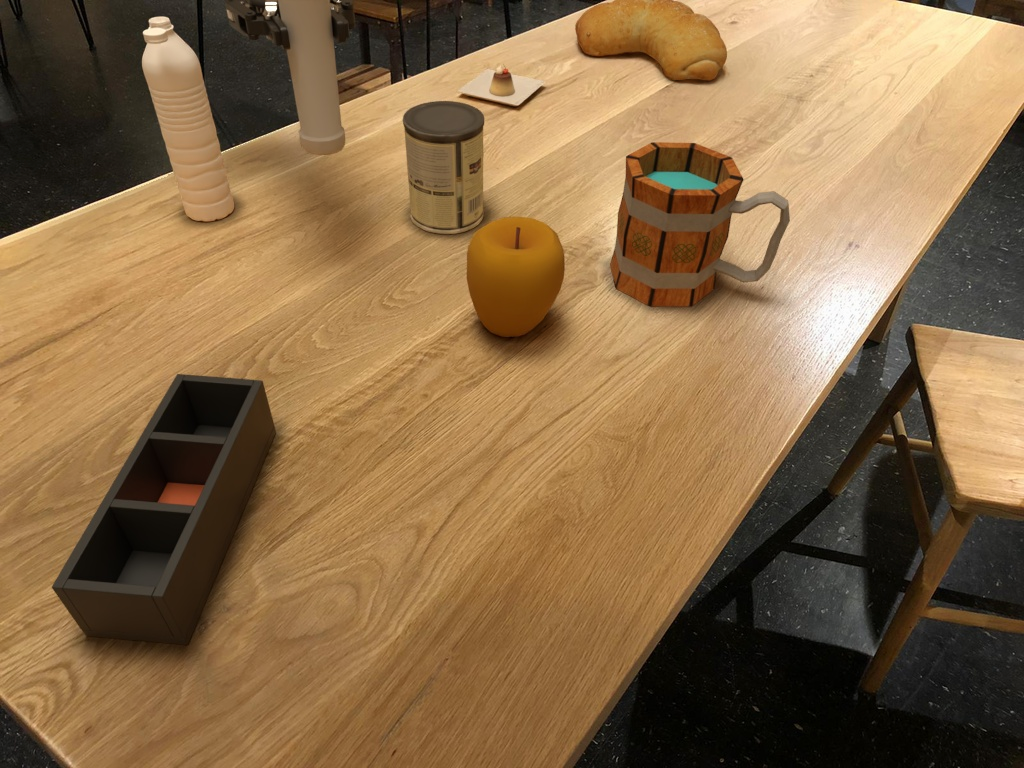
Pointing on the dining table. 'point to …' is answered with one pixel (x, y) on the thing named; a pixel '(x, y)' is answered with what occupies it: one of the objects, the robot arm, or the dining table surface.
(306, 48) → the bottle
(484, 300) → the apple
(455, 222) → the coffee can
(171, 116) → the water bottle
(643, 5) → the bread
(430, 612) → the dining table surface
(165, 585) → the rack
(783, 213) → the mug
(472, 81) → the dessert
